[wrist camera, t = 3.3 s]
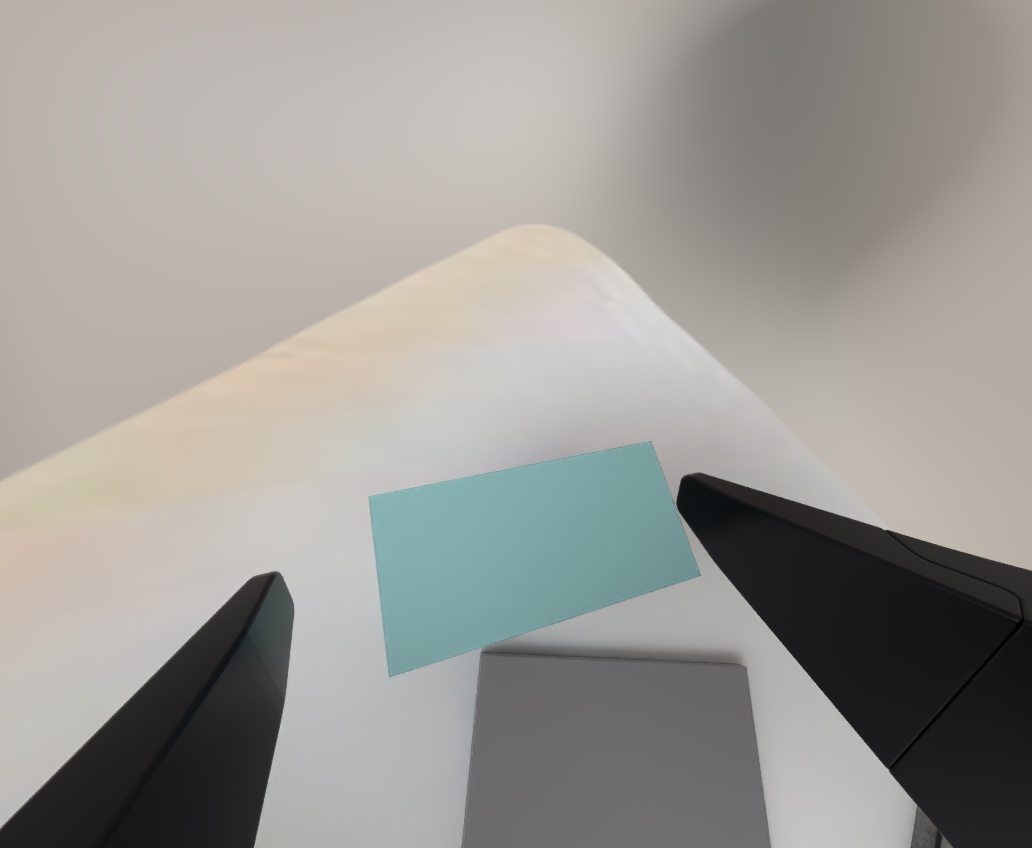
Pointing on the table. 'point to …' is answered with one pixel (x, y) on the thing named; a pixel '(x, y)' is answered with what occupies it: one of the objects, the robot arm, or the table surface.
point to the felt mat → (613, 755)
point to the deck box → (522, 550)
